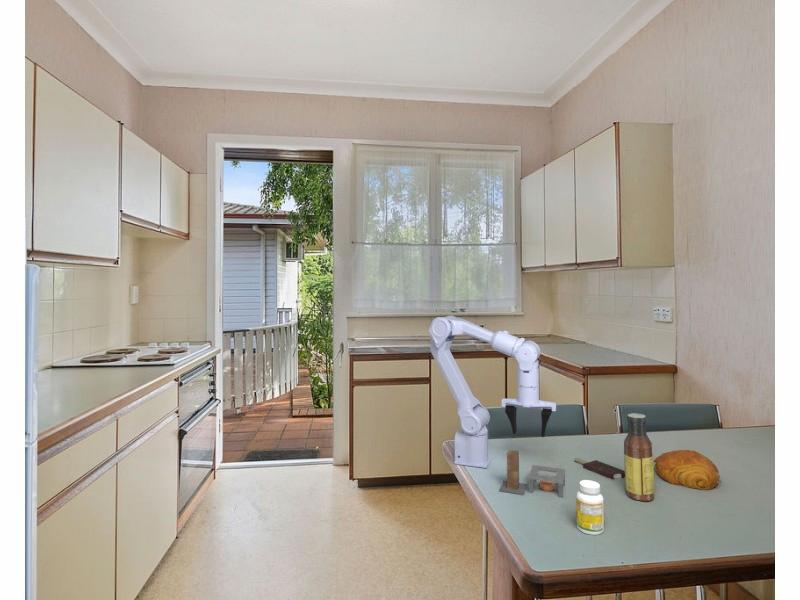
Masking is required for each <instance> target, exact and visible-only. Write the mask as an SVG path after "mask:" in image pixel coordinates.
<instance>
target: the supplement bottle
mask: <svg viewBox="0 0 800 600" xmlns="http://www.w3.org/2000/svg"><path fill="white" fill-rule="evenodd" d="M575 497H576V499H575V501H576V503H575V505H576V513H575V515H576V519H575V520H576V522H575V523H576V524H575V525H576V528H577V529H578V530H579V531H581V532H582V533H583V534H586V535H592V536H598V535H601V534H603V532H604V530H605V529H604V528H605V524H604V523H605V522H604V521H605V519H604V515H605V514H604V513H605V512H604V511H605V510H604V506H605V505H604V496H603V495H602V494H601V485H600V483H598V481H594V480H591V479H590V480H589V479H583V480H580V481H579V490H578V491H577V492H576V495H575Z"/></svg>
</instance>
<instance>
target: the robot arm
mask: <svg viewBox="0 0 800 600" xmlns="http://www.w3.org/2000/svg"><path fill="white" fill-rule="evenodd" d="M427 332H428V334H429V338H430V339H429V340H430V341H429V342H430V343H429V344H430V345H429V347H430V348H429V349H430V353H431V355H432V356H433V359H434V361H435V363H436V365H437V368H439V370H440V373H441V375H442V377H443V378H444V381H445V382H446V384H447V386H448V388H449V390H450V392H451V395H452V396H453V398H454V400H455V402H456V404H457V412H456V413H457V415H458V418H459V426H460V428H461V429H456V432H455V436H454V461H453V464H454V465H461V466H469V467H475V468H482V469H483V468H484V469H485V468H486V469H487V468H488V466H489V464H490V462H491V460H492V459H493V458H492V457H491V456H489V443H488V442H489V437H488V436H489V430H488V428H487V425H488V424H489V422H490V419H491V415H490V413H489V411H488V409H487V408H486V407H485V406H483V405H482V404H481V401H480V400H479V399H478V398H477V397H475V396H474V395H473V392H472V390H471V389H470V387H469V385H468V383H467V381H466V379H465V377H464V375H463V373H462V372H461V370H460V367H459V366H458V363H457V362H456V359H455V358H454V356H453V354H452V352H451V350H450V348H451V347H452V346H451V345H452V343H453V341H454V339H455V337H457V336H459V335H467V336H470V337H473V338H475V339H476V340H481V341H482V342H486V343H488V344H489V345H490V346H491V348H492V350H494V351H496V352H499V353H501V354H503V355H506V356H508V357H511V358H513V359H514V358H515V360H516V361H517V398H504V397H503V398H502V399H501V407H502V408H505V409H504V412H505V414H506V416H507V418H508V420H509V423H510V426H511V429H512V434H516V433H517V431H518V429H517V408H522V409H532V410H541V412H540V415H541V416H540V417H541V438H544V437H546V430H547V429H546V428H547V425H548V422H549V419H550V418H551V415H552V414H553V412H557V402H553V401H546V400H541V399H540V369H539V367H540V366H539V360H538V359H539V358H540V356H541V347H540V346H539V345H538V344H537V343H536V342H534V341H533V340H526V338H525V337H521V338H520V337H517V336H515V335H512V334H510V331H508V330H498V331H496V332H493V331H491V330H489V329H487V328H485V327H483V326H481V325H478V324H476V323H473V322H471V321H469V320H466V319H464V318H462V317H456V316H455V315H446V316H443V317H442V316H438V317H436V318H434V319H432V322H431V323H430V326H429V328H428V331H427ZM525 340H526V341H525Z"/></svg>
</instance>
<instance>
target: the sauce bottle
mask: <svg viewBox="0 0 800 600" xmlns="http://www.w3.org/2000/svg"><path fill="white" fill-rule="evenodd" d="M626 419H627V423H628V424H627V425H628V430H627V431H628V433H627V434H626V437H625V438H624V440H623V457H624V458H623V461H624V463H623V464H624V471H625V478H624V480H625V493H626V495H627V496H628V497H629V498H630V499H632V500H635V501H640V502H650V501H653V500H654V499H655V498H654V497H655V472H654V471H655V470H654V468H655V467H654V455H653V443H652V441H651V440H650V438H649V436H648V434H647V431H646V430H647V429H646V423H647V416H646V415H645V414H643V413H635V412H632V413H628V414H627V417H626Z"/></svg>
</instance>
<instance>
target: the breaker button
mask: <svg viewBox="0 0 800 600" xmlns="http://www.w3.org/2000/svg"><path fill="white" fill-rule="evenodd" d="M539 485H540V486H539V488H540V490H542V491H545V492H552V491H555V483H554V482H547V481H540V480H539Z"/></svg>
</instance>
